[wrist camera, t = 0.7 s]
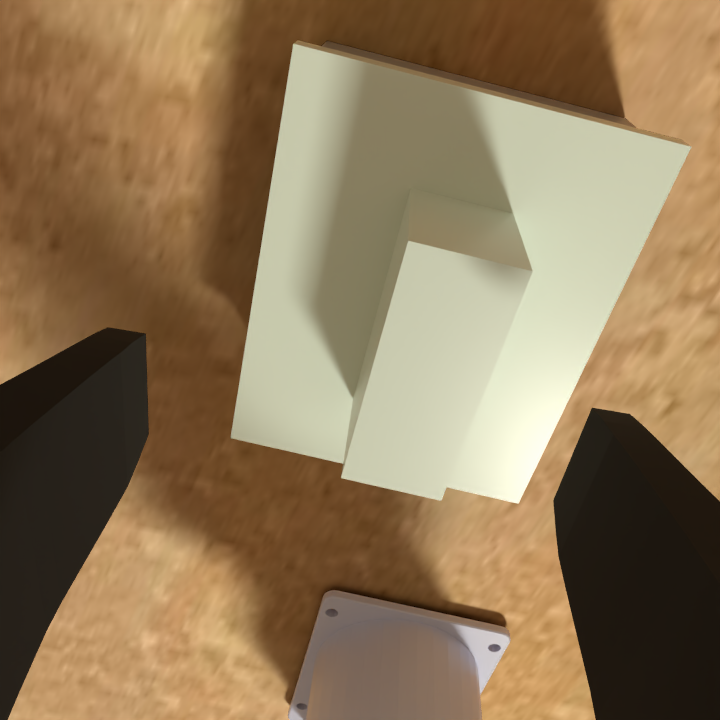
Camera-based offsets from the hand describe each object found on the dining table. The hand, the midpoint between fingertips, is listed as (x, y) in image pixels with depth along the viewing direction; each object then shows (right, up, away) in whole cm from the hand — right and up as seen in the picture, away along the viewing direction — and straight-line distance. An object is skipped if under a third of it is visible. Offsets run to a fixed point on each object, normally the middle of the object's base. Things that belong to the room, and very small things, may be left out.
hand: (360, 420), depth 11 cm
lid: (+2, +2, +6) cm, 7 cm away
